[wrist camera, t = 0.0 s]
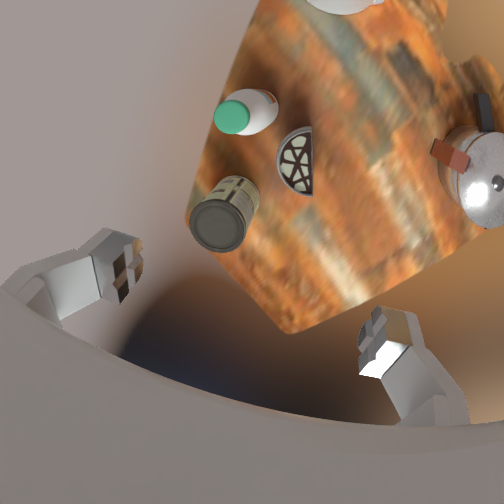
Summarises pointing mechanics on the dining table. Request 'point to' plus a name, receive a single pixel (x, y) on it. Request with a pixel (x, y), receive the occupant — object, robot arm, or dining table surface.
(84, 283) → the robot arm
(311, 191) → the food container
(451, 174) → the cooker pot
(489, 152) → the lid
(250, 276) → the dining table surface
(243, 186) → the coffee can
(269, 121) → the milk bottle
